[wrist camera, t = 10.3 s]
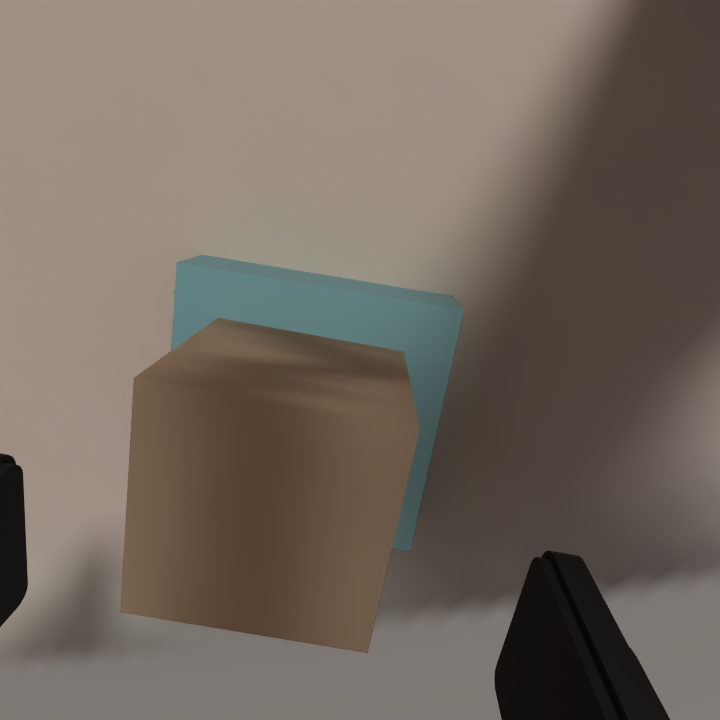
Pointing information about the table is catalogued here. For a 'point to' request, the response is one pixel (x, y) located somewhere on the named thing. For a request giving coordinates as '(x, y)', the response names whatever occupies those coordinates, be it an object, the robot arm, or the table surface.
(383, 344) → the teal base block
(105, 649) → the table surface
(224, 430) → the walnut cube
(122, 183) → the table surface
